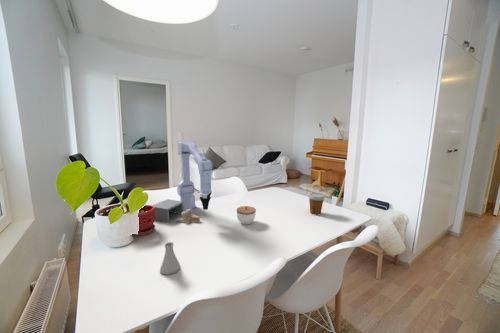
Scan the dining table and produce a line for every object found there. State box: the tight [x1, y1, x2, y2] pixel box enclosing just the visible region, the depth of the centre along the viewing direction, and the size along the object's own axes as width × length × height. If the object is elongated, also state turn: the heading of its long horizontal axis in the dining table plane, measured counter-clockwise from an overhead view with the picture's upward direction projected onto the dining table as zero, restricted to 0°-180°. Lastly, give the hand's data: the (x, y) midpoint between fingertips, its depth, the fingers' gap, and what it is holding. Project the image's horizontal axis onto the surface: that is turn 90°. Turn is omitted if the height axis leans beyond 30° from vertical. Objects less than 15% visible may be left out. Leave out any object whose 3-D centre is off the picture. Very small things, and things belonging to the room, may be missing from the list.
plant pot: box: [137, 204, 156, 236], centre depth 111 cm, size 13×13×12 cm
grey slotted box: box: [151, 198, 185, 223], centre depth 132 cm, size 14×12×8 cm
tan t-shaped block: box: [176, 209, 201, 224], centre depth 126 cm, size 8×12×5 cm
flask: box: [159, 241, 181, 276], centre depth 82 cm, size 7×7×10 cm
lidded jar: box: [236, 205, 257, 225], centre depth 124 cm, size 11×11×9 cm
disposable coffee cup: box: [308, 192, 325, 216], centre depth 139 cm, size 10×10×12 cm
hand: (206, 207), depth 121 cm, fingers open, 7 cm apart
